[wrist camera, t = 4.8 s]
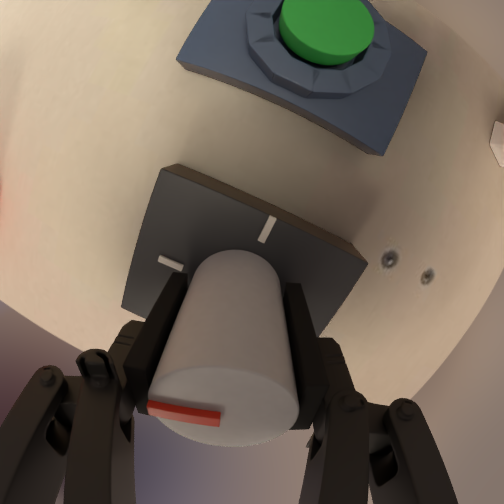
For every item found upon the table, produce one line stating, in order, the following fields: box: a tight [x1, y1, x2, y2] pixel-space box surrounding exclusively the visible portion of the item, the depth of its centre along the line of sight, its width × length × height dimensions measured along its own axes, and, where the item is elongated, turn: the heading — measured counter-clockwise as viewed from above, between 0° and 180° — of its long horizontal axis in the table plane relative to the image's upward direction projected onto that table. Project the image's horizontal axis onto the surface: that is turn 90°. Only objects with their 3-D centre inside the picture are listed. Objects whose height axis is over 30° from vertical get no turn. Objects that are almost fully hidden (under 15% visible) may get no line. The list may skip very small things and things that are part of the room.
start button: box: [279, 0, 374, 65], centre depth 8 cm, size 4×4×2 cm
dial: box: [147, 250, 299, 447], centre depth 11 cm, size 5×5×8 cm
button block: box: [176, 0, 427, 156], centre depth 11 cm, size 12×8×4 cm, turn 65°
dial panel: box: [121, 164, 368, 337], centre depth 16 cm, size 12×9×3 cm
